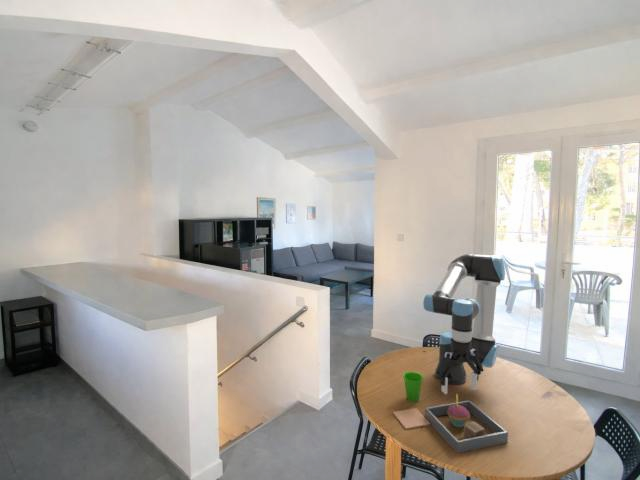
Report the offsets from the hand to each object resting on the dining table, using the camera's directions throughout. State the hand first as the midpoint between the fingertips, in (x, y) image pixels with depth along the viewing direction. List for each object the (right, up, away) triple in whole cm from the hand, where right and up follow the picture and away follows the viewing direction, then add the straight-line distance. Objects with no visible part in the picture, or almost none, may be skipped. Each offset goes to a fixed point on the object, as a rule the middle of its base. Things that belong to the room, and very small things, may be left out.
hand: (459, 390), depth 137 cm
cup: (-13, -13, +19) cm, 27 cm away
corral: (+1, -15, -2) cm, 15 cm away
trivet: (-18, -14, +5) cm, 23 cm away
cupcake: (0, -15, +2) cm, 15 cm away
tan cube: (+3, -15, -7) cm, 17 cm away
